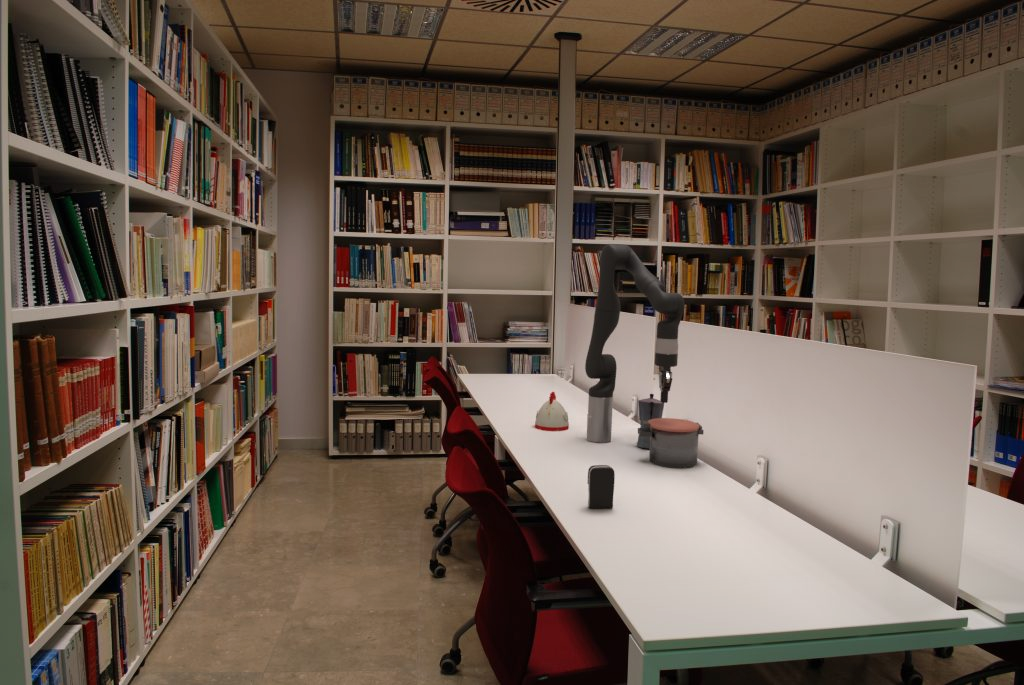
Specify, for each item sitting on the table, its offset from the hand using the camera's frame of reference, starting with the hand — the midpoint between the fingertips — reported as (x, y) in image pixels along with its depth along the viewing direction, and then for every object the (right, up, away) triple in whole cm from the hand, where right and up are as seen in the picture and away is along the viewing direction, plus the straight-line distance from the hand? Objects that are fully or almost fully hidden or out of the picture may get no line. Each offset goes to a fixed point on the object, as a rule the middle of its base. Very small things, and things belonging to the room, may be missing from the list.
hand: (663, 402), depth 238 cm
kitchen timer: (-35, -15, +52) cm, 65 cm away
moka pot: (-1, -19, +22) cm, 29 cm away
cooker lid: (+3, -8, +1) cm, 9 cm away
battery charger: (-28, -25, -48) cm, 61 cm away
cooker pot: (+2, -21, +2) cm, 21 cm away
